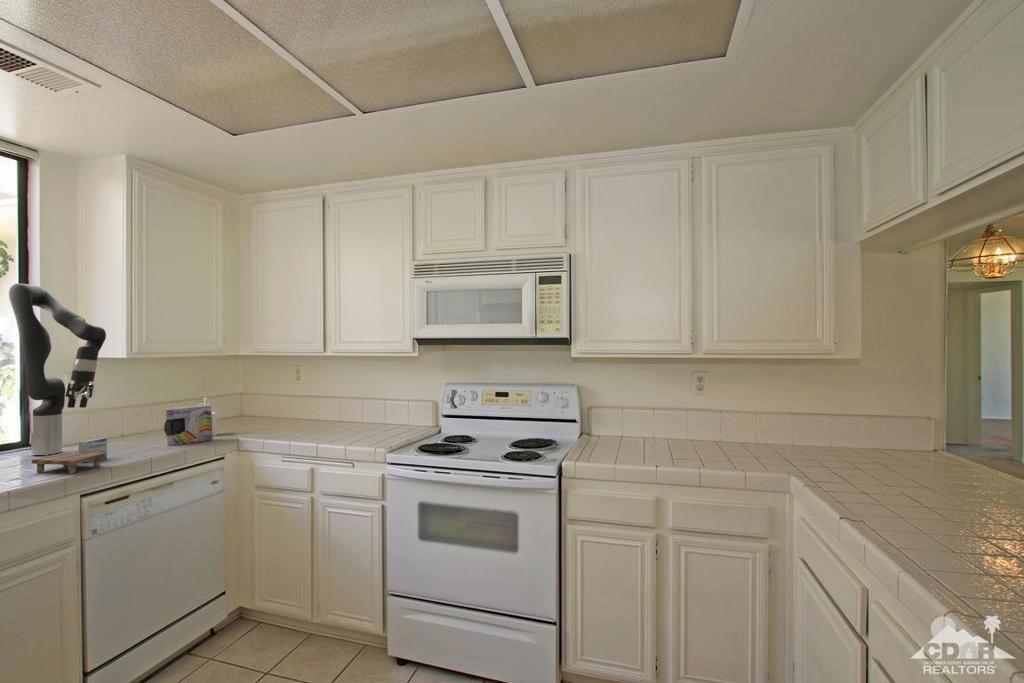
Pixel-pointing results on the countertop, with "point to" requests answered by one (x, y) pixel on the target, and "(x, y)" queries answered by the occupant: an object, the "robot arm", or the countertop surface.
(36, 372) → the robot arm
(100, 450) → the medicine box
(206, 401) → the white french press
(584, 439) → the countertop surface
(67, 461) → the walnut shelf
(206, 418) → the cake pan box
